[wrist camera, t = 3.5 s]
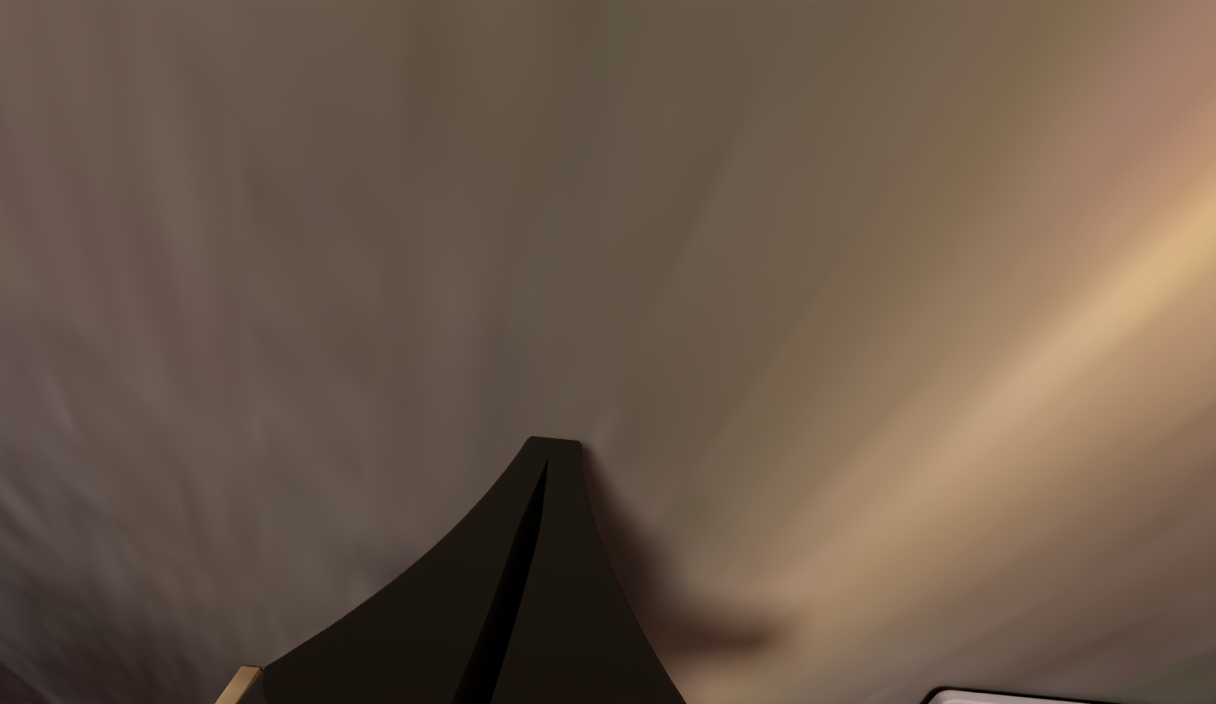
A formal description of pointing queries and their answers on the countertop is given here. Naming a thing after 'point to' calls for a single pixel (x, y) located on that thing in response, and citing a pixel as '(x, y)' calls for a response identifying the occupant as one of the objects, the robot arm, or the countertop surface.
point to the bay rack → (239, 685)
